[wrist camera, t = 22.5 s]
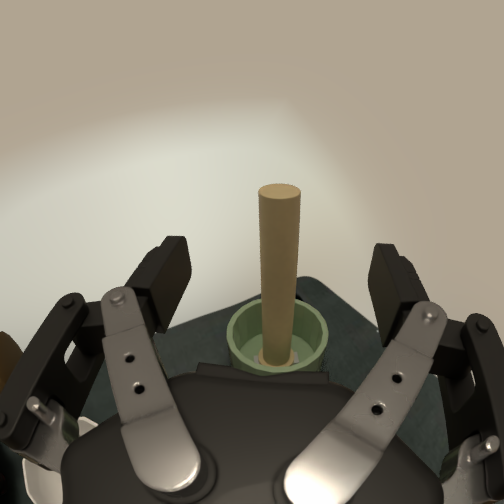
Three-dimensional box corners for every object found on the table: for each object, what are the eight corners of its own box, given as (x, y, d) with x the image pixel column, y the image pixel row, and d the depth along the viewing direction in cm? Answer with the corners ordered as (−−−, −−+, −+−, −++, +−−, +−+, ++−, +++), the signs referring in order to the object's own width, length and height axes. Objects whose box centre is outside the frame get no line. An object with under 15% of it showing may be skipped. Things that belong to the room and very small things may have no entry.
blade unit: (294, 342, 33) (305, 178, 22) (301, 377, 29) (323, 202, 18) (252, 346, 33) (242, 180, 22) (255, 381, 29) (245, 206, 18)
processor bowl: (325, 338, 34) (332, 304, 31) (311, 409, 26) (320, 381, 23) (248, 324, 37) (245, 290, 34) (219, 388, 29) (210, 357, 25)
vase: (88, 479, 18) (12, 432, 11) (158, 453, 22) (105, 398, 15) (125, 551, 12) (44, 543, 5) (204, 523, 16) (162, 514, 9)
